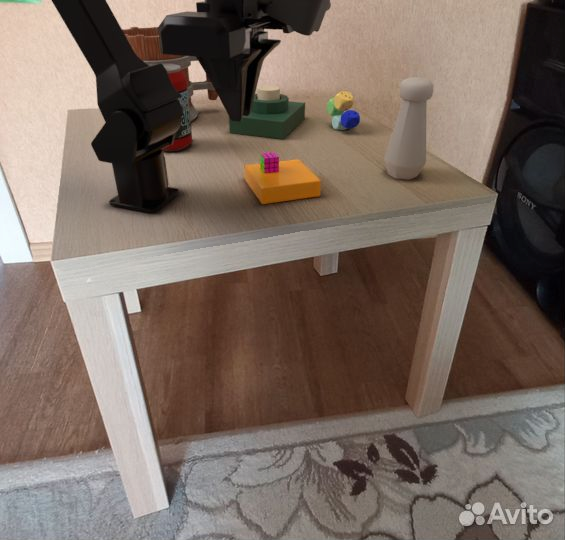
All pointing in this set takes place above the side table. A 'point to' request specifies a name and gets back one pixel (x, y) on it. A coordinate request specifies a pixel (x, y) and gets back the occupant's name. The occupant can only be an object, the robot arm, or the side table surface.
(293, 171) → the orange square block
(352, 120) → the dice
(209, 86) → the mug
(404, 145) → the salt shaker
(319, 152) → the side table surface
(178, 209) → the side table surface
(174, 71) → the beverage can
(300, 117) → the green base with socket
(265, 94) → the beige round button
